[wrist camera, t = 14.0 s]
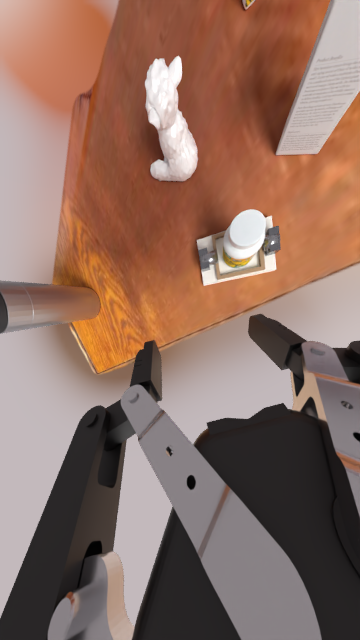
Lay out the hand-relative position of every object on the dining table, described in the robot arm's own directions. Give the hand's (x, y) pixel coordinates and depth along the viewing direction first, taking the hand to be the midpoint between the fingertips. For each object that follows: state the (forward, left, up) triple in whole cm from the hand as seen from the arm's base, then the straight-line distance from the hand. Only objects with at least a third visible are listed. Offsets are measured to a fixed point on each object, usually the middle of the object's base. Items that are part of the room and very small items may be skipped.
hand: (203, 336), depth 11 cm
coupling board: (+5, +11, -19) cm, 22 cm away
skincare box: (+17, +25, -19) cm, 36 cm away
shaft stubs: (+6, +11, -18) cm, 21 cm away
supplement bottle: (+6, +10, -18) cm, 22 cm away
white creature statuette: (-2, +30, -19) cm, 36 cm away
